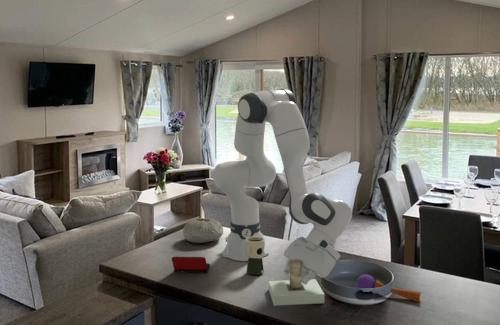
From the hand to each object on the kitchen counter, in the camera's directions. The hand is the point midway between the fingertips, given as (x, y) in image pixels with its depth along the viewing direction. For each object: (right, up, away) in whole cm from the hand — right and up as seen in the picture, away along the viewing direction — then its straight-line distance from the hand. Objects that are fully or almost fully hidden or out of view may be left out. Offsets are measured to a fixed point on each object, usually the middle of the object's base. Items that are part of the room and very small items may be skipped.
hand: (294, 277), depth 153 cm
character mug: (-12, -4, +21) cm, 25 cm away
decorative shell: (-35, +2, +59) cm, 68 cm away
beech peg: (+1, -6, +1) cm, 6 cm away
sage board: (+1, -6, +1) cm, 6 cm away
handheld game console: (-36, -4, +24) cm, 43 cm away
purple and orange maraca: (+31, -7, +1) cm, 31 cm away
